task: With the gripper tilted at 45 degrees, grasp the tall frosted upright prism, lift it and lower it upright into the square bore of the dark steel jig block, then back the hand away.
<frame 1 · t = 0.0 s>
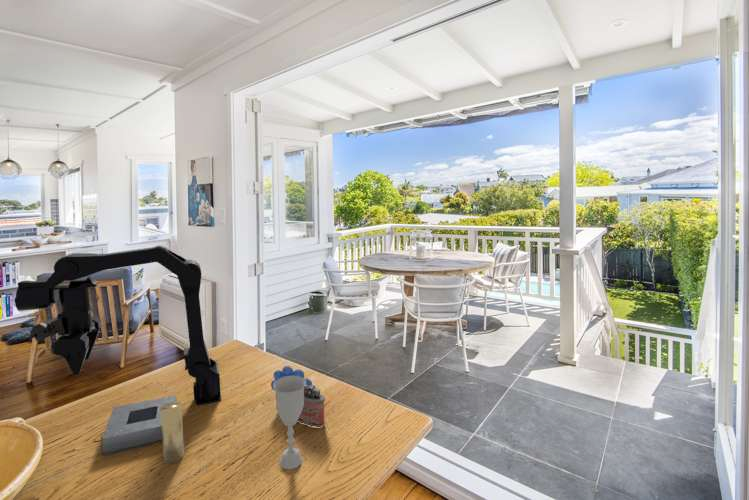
hand: (81, 366, 93), 15 cm above the table, tool pointing down, fingers open, 9 cm apart
chalice: (290, 461, 82), on the table
grapes: (291, 410, 102), on the table
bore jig: (143, 430, 92), on the table
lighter: (310, 423, 97), on the table
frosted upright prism: (174, 457, 83), on the table
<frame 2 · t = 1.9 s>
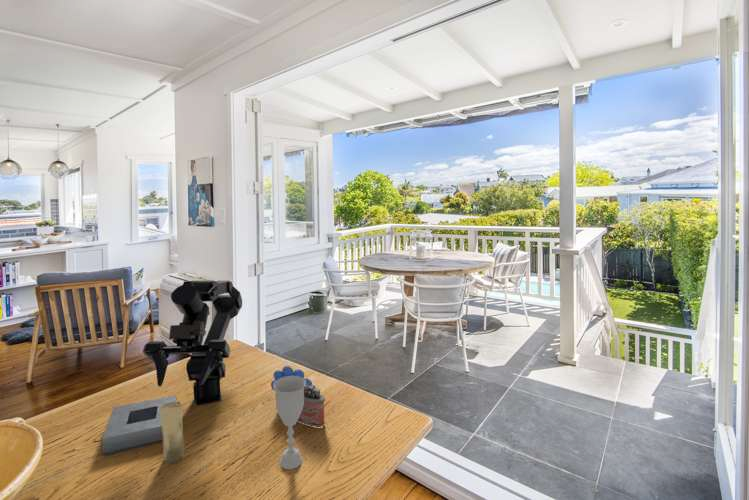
hand: (180, 385, 88), 13 cm above the table, tool tilted 45°, fingers open, 9 cm apart
nothing on the table moved.
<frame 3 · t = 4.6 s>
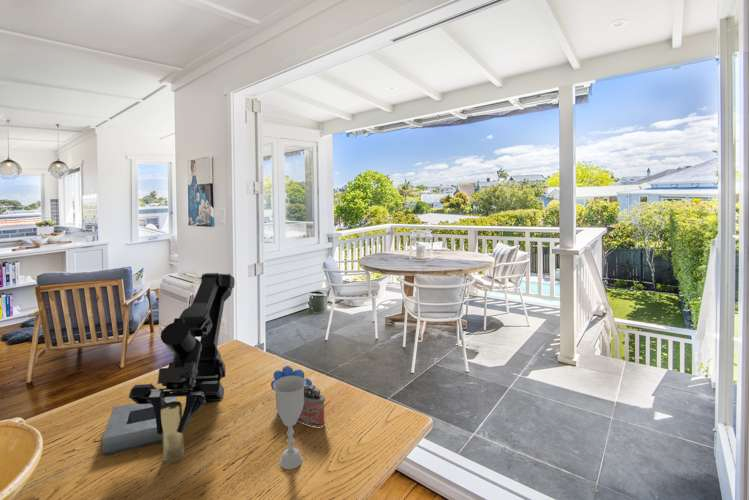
hand: (169, 433, 81), 7 cm above the table, tool tilted 45°, fingers closed on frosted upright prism, 4 cm apart
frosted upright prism: (174, 457, 83), on the table, touching gripper
everything else where it was.
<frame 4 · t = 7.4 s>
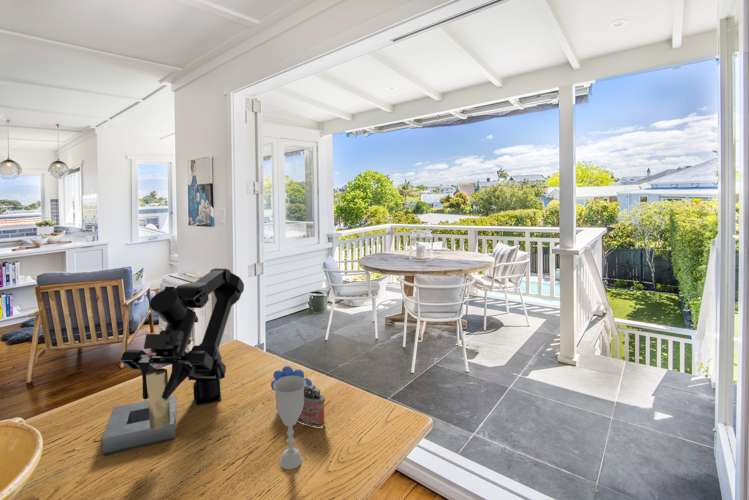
hand: (154, 399, 81), 14 cm above the table, tool tilted 45°, fingers closed on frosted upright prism, 4 cm apart
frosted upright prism: (160, 423, 83), point 7 cm above the table, touching gripper
everything else where it was.
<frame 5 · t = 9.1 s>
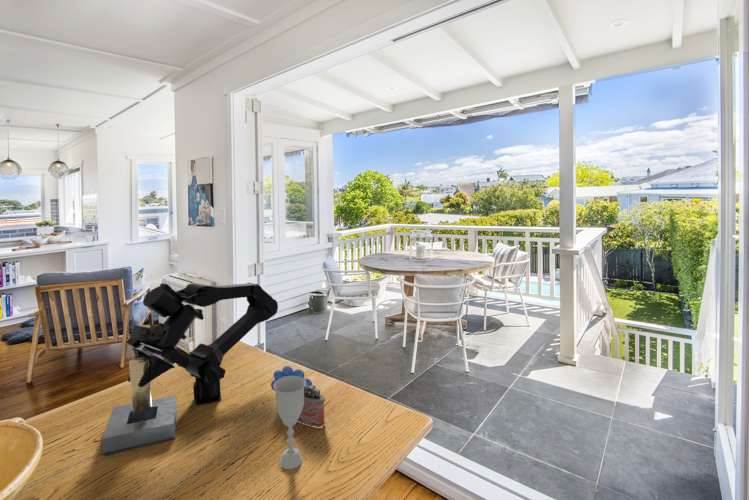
hand: (134, 384, 89), 13 cm above the table, tool tilted 45°, fingers closed on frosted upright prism, 4 cm apart
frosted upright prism: (142, 407, 92), point 6 cm above the table, touching gripper
everything else where it was.
when the fingers open (8 cm above the table, at t = 10.3 s): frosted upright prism stays where it is, resting on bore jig.
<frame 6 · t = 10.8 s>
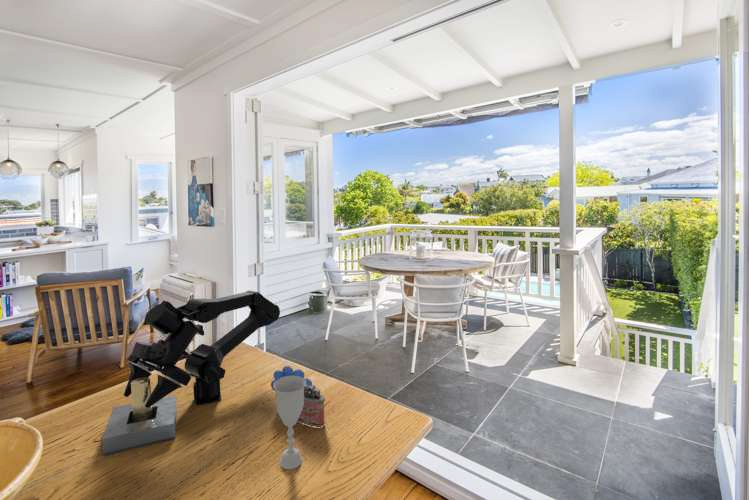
hand: (135, 401, 90), 8 cm above the table, tool tilted 45°, fingers open, 9 cm apart
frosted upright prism: (143, 427, 92), point 1 cm above the table, touching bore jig
everything else where it was.
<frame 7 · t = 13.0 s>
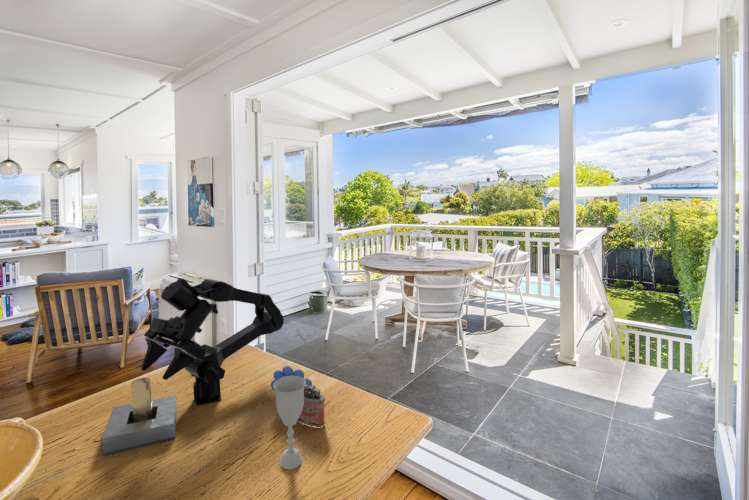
hand: (153, 374, 93), 13 cm above the table, tool tilted 45°, fingers open, 9 cm apart
nothing on the table moved.
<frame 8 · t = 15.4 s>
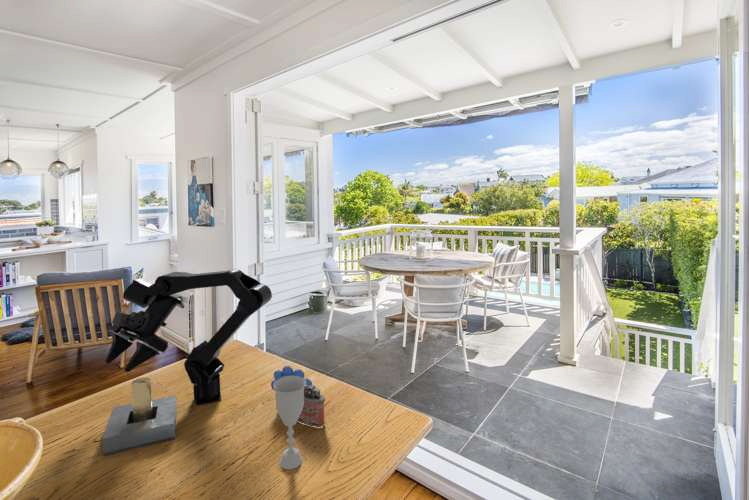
hand: (116, 367, 96), 14 cm above the table, tool tilted 45°, fingers open, 9 cm apart
nothing on the table moved.
at the end: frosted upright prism 0.0 cm off-centre on the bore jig, point 0.6 cm above the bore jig's base; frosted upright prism tilted 0°; the gripper is holding nothing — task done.
